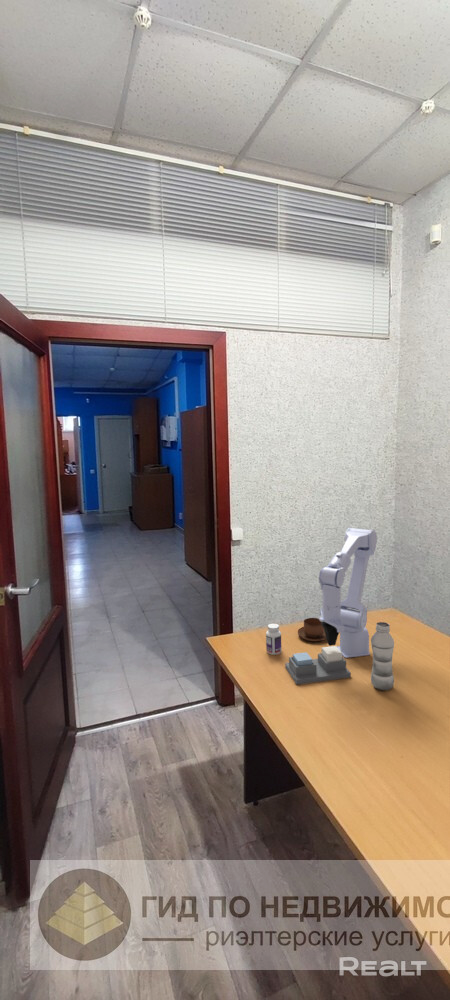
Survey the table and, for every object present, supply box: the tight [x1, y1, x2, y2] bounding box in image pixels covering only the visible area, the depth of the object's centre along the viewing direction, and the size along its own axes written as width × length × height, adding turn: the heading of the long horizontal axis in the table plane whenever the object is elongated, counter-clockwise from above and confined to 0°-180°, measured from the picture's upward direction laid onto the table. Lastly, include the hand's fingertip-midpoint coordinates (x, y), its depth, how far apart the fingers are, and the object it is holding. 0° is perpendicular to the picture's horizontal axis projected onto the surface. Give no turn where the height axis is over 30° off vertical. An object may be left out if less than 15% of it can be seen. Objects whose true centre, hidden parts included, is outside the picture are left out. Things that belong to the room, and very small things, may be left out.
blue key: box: [292, 652, 313, 666], centre depth 143 cm, size 5×5×3 cm
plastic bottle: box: [370, 621, 395, 691], centre depth 133 cm, size 6×7×20 cm
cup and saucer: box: [297, 617, 327, 642], centre depth 170 cm, size 12×12×6 cm
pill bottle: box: [265, 623, 283, 656], centre depth 159 cm, size 5×5×10 cm
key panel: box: [284, 652, 352, 686], centre depth 144 cm, size 18×11×4 cm, turn 100°
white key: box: [321, 645, 343, 662], centre depth 145 cm, size 5×5×3 cm
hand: (331, 644), depth 144 cm, fingers closed
